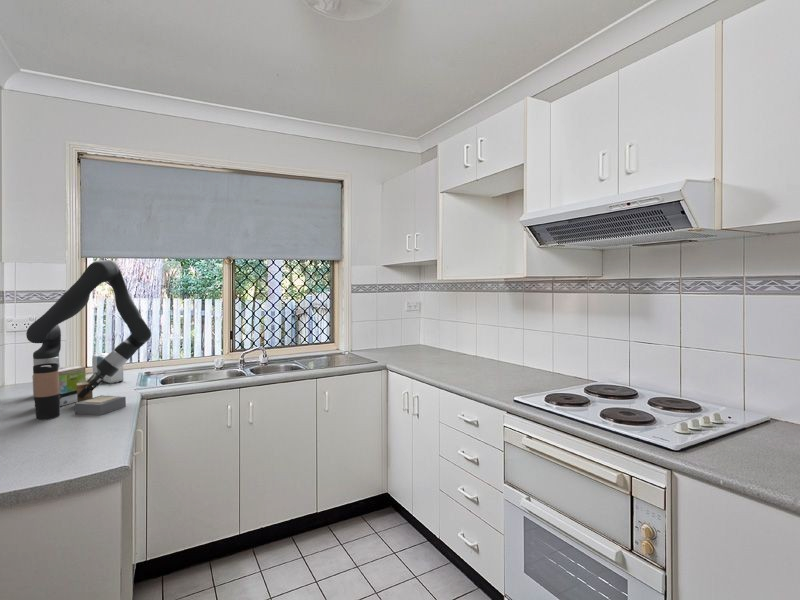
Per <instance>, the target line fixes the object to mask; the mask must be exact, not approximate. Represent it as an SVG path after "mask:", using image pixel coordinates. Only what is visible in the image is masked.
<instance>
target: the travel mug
mask: <svg viewBox="0 0 800 600" xmlns="http://www.w3.org/2000/svg"><path fill="white" fill-rule="evenodd" d="M32 371H33V372H32V373H33V375H32V376H33V378H32V381H33V380H34V396H33V399H34V408H35V410H34V411H35V419H36V420H37V419H38V421H40V420H41V421H45V420H44V419H46V420H52V419H55V418H58V417H59V416H60V415H61V413H60V412H61V406H60V391H59V374H58V364H57V363H47V364H39V365H35V366H34V365H33V366H32ZM51 418H52V419H51Z"/></svg>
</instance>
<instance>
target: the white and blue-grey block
mask: <svg viewBox="0 0 800 600" xmlns="http://www.w3.org/2000/svg"><path fill="white" fill-rule="evenodd" d="M121 343H122V342H119V344H121ZM109 353H110V352H104V353H96V354H93V355H92V359H91V361H92V362H91V363H92V375H93V374H94V373H95V372H98V371H99V369H98V368H97V367H96V366H97V365H98V364H99V363H100V362H101V361H102V360H103V359H104V358H105V357H106V356H107V355H108V354H109ZM103 379H104V380H103V382H106V383H108V384H111V383H112V384H115V383H114V382H116V383H120V382H119V381H122V382H124V379H125V378H124V365H123V366H122V367H121V368H120V369H119V370H118V371H117V372H116V373H115V374H114V375H113V376H112V377H109V376H108V375H106V376H105V377H104V378H103Z"/></svg>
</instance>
